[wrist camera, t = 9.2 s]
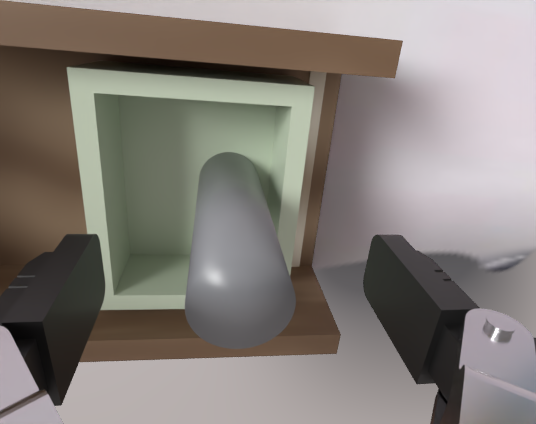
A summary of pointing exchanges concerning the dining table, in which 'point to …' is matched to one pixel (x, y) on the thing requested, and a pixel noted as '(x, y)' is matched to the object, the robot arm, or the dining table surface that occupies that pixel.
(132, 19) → the bay
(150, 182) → the box
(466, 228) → the dining table surface
